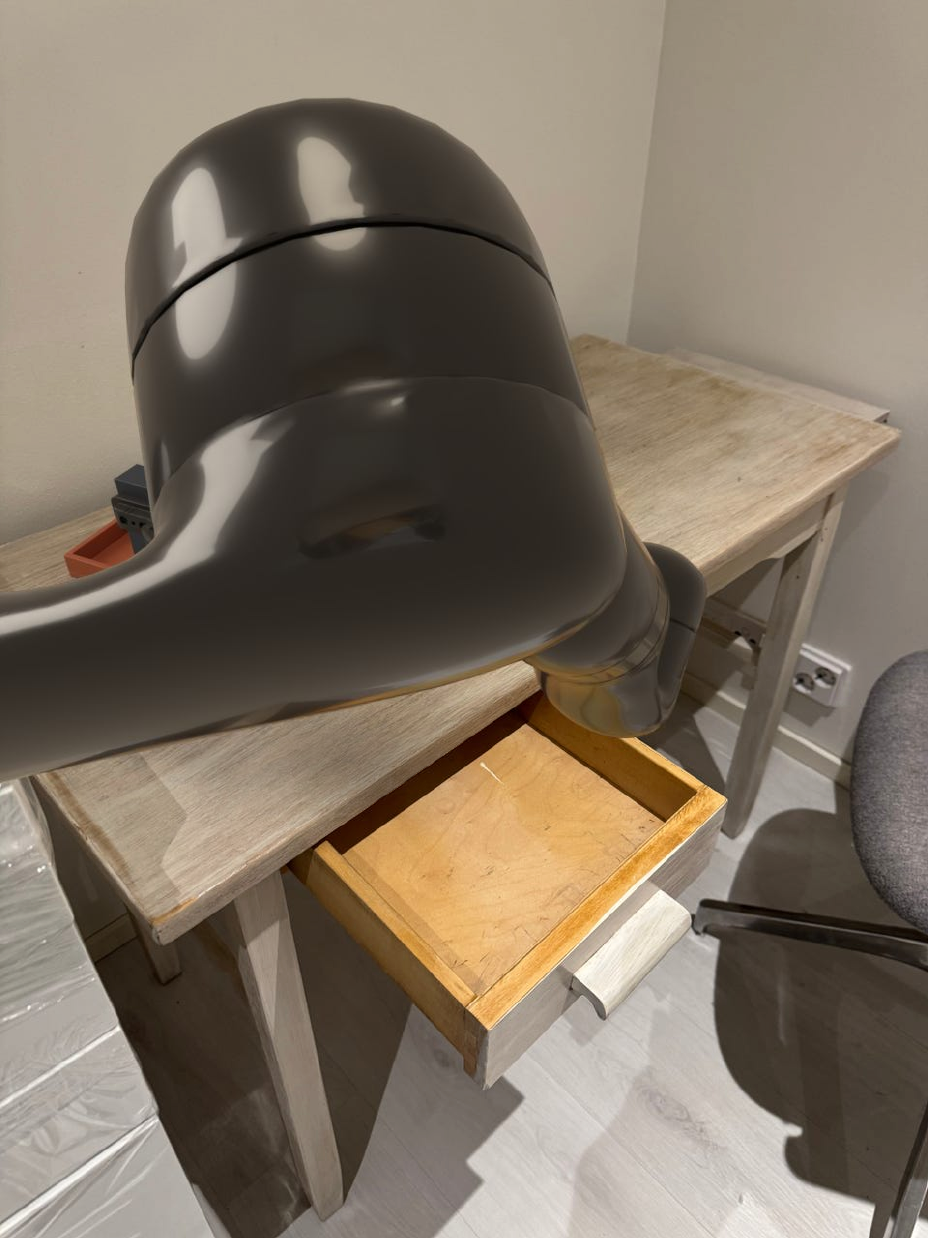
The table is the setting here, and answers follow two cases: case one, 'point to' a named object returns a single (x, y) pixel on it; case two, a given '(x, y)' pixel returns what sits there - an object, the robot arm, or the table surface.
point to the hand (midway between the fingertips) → (132, 498)
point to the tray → (100, 551)
